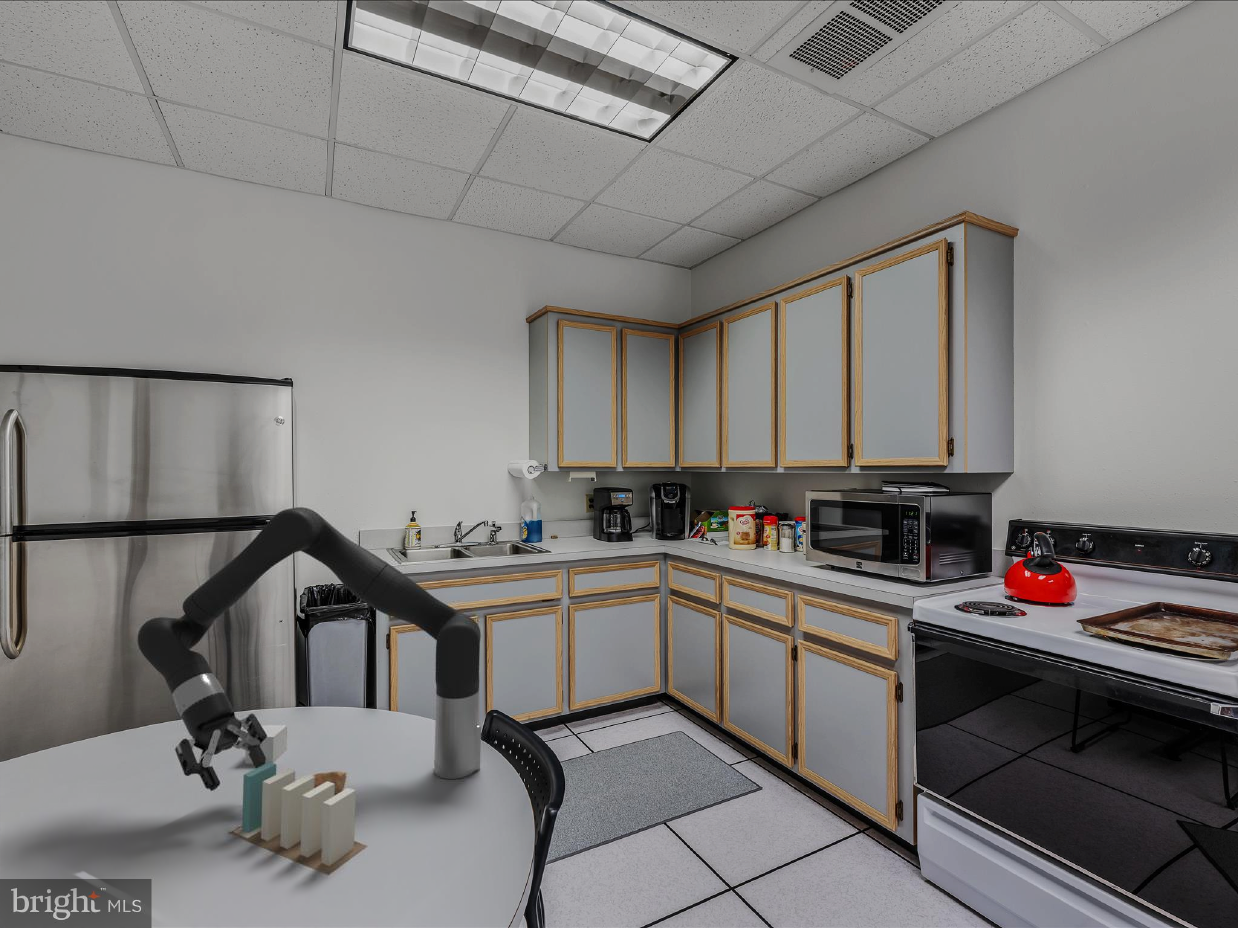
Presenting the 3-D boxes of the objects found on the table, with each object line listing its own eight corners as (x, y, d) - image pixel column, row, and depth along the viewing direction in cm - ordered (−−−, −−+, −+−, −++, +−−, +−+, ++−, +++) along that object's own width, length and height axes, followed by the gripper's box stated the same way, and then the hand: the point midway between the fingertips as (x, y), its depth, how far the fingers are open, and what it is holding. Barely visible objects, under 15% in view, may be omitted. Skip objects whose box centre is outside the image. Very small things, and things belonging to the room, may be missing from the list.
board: (228, 837, 104) (228, 832, 104) (270, 813, 112) (270, 808, 112) (328, 879, 94) (328, 873, 94) (367, 850, 102) (367, 845, 102)
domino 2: (280, 845, 101) (282, 788, 101) (306, 829, 106) (307, 774, 106) (287, 848, 100) (289, 790, 101) (313, 832, 105) (314, 776, 105)
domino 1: (261, 838, 103) (262, 781, 103) (287, 822, 108) (288, 768, 108) (267, 840, 103) (269, 783, 103) (293, 825, 107) (295, 770, 107)
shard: (340, 805, 116) (341, 796, 116) (297, 811, 114) (298, 801, 114) (347, 777, 126) (348, 769, 126) (308, 782, 124) (308, 774, 124)
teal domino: (242, 830, 105) (243, 774, 105) (268, 815, 110) (269, 761, 110) (248, 832, 104) (250, 776, 105) (274, 817, 109) (276, 763, 109)
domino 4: (321, 862, 97) (323, 802, 97) (346, 845, 102) (347, 787, 102) (329, 865, 97) (330, 805, 97) (353, 848, 101) (355, 790, 101)
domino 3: (300, 854, 99) (302, 795, 99) (325, 837, 104) (327, 781, 104) (307, 857, 98) (309, 797, 99) (333, 840, 103) (334, 783, 103)
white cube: (286, 750, 137) (287, 725, 137) (272, 763, 131) (273, 736, 131) (260, 751, 136) (260, 725, 136) (245, 763, 130) (245, 736, 130)
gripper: (171, 705, 106) (209, 784, 102) (248, 680, 119) (285, 749, 115) (153, 729, 108) (189, 806, 104) (230, 702, 121) (265, 770, 117)
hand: (239, 776), depth 109 cm, fingers open, 8 cm apart
